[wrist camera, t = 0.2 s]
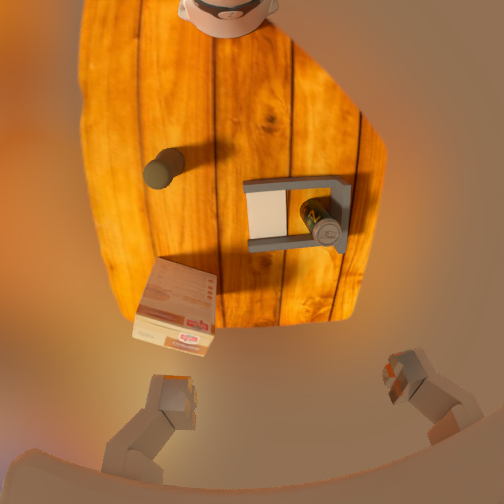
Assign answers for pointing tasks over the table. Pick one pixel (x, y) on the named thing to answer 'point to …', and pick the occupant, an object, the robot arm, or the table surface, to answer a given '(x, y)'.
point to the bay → (274, 211)
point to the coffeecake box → (177, 308)
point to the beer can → (320, 223)
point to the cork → (163, 168)
